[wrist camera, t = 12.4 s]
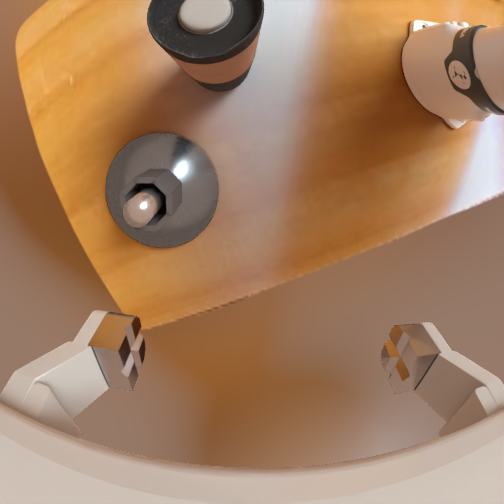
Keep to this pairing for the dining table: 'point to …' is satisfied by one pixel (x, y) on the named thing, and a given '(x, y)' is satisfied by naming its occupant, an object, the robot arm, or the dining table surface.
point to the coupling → (166, 184)
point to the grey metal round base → (153, 199)
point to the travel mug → (209, 37)
